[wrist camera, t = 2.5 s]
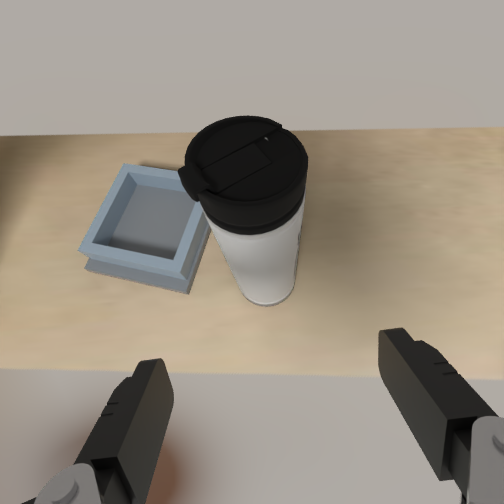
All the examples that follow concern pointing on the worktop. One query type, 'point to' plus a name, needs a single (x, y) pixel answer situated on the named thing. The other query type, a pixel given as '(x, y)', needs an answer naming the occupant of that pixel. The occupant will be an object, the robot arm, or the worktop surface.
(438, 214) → the worktop surface
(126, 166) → the light blue open tray
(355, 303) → the worktop surface
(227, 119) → the travel mug
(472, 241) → the worktop surface
